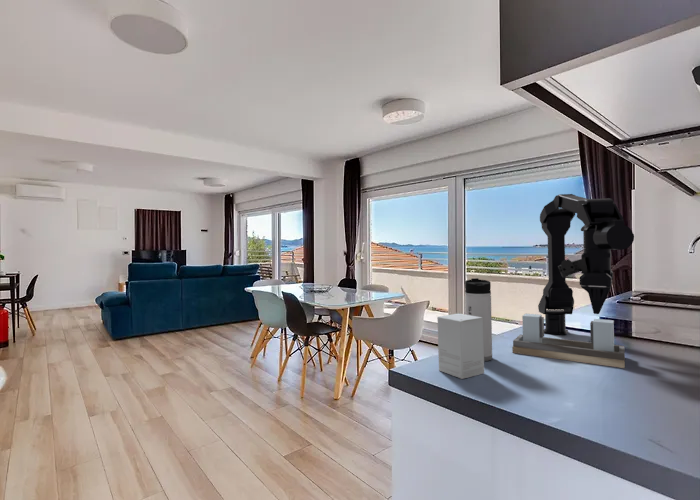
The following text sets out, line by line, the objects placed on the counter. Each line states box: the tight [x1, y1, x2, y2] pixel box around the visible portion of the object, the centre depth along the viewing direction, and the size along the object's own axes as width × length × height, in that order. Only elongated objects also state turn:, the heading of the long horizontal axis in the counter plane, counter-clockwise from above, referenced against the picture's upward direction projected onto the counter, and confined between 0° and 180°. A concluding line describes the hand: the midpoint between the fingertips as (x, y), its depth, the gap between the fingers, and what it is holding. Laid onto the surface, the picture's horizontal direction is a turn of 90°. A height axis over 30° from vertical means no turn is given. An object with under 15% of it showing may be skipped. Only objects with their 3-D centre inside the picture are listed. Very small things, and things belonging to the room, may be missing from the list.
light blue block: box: [589, 318, 615, 352], centre depth 92 cm, size 5×4×8 cm
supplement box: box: [437, 313, 485, 380], centre depth 85 cm, size 7×7×13 cm
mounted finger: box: [521, 313, 545, 343], centre depth 101 cm, size 4×5×8 cm
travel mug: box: [464, 277, 493, 362], centre depth 96 cm, size 6×7×20 cm
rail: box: [511, 334, 626, 369], centre depth 97 cm, size 10×24×3 cm, turn 54°
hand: (597, 310), depth 95 cm, fingers open, 9 cm apart
